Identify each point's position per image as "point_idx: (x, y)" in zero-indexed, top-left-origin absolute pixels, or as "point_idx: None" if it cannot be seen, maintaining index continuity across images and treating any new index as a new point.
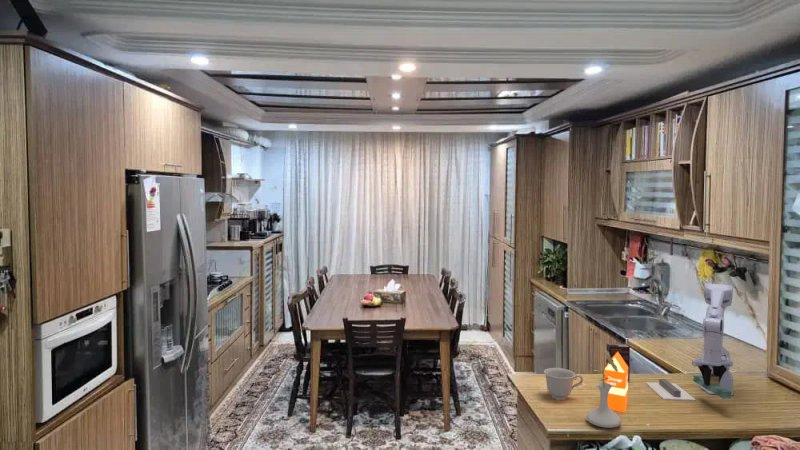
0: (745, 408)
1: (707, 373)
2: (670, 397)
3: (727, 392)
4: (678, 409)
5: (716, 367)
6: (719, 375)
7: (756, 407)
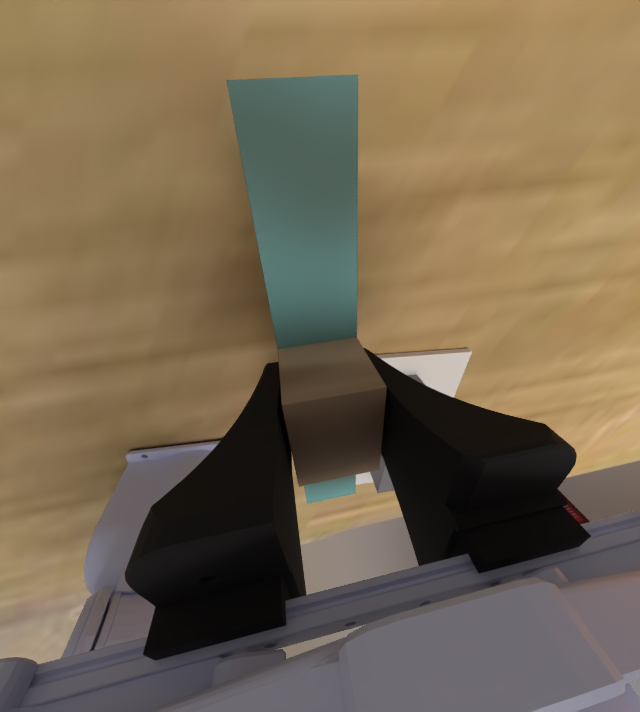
0: (102, 304)
1: (461, 408)
2: (435, 366)
3: (289, 79)
4: (488, 241)
5: (295, 562)
6: (273, 424)
7: (27, 329)
